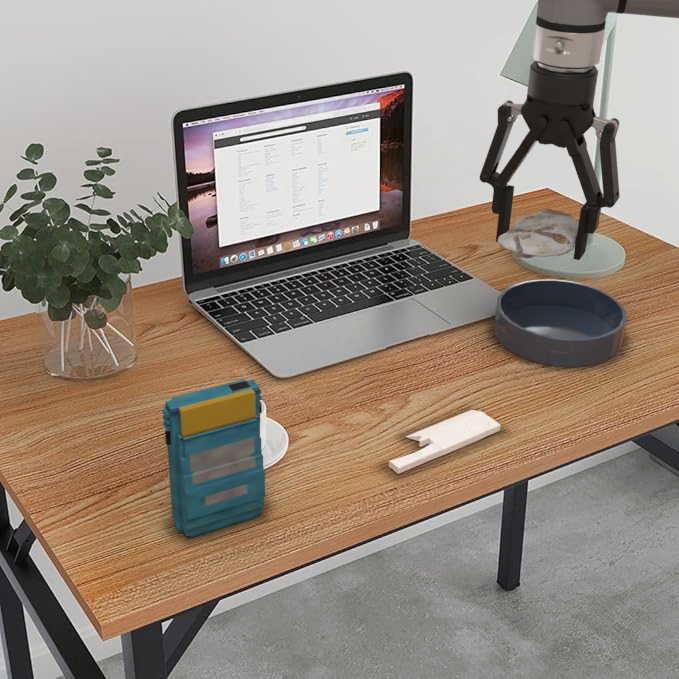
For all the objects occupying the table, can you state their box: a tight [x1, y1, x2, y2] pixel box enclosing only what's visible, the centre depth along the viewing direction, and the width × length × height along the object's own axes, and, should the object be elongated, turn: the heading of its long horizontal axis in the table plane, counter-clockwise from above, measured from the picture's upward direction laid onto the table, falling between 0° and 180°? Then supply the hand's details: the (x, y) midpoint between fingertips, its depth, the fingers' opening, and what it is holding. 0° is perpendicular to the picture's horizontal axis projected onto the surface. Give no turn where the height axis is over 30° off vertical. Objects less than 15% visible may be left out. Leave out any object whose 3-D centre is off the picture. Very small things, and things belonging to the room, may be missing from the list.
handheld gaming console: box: [161, 378, 266, 539], centre depth 105 cm, size 10×4×15 cm, turn 118°
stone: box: [497, 207, 579, 259], centre depth 130 cm, size 12×9×3 cm
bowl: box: [493, 278, 628, 368], centre depth 143 cm, size 17×17×4 cm
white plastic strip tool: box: [388, 409, 502, 475], centre depth 121 cm, size 5×15×1 cm, turn 125°
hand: (540, 246), depth 130 cm, fingers closed on stone, 9 cm apart
